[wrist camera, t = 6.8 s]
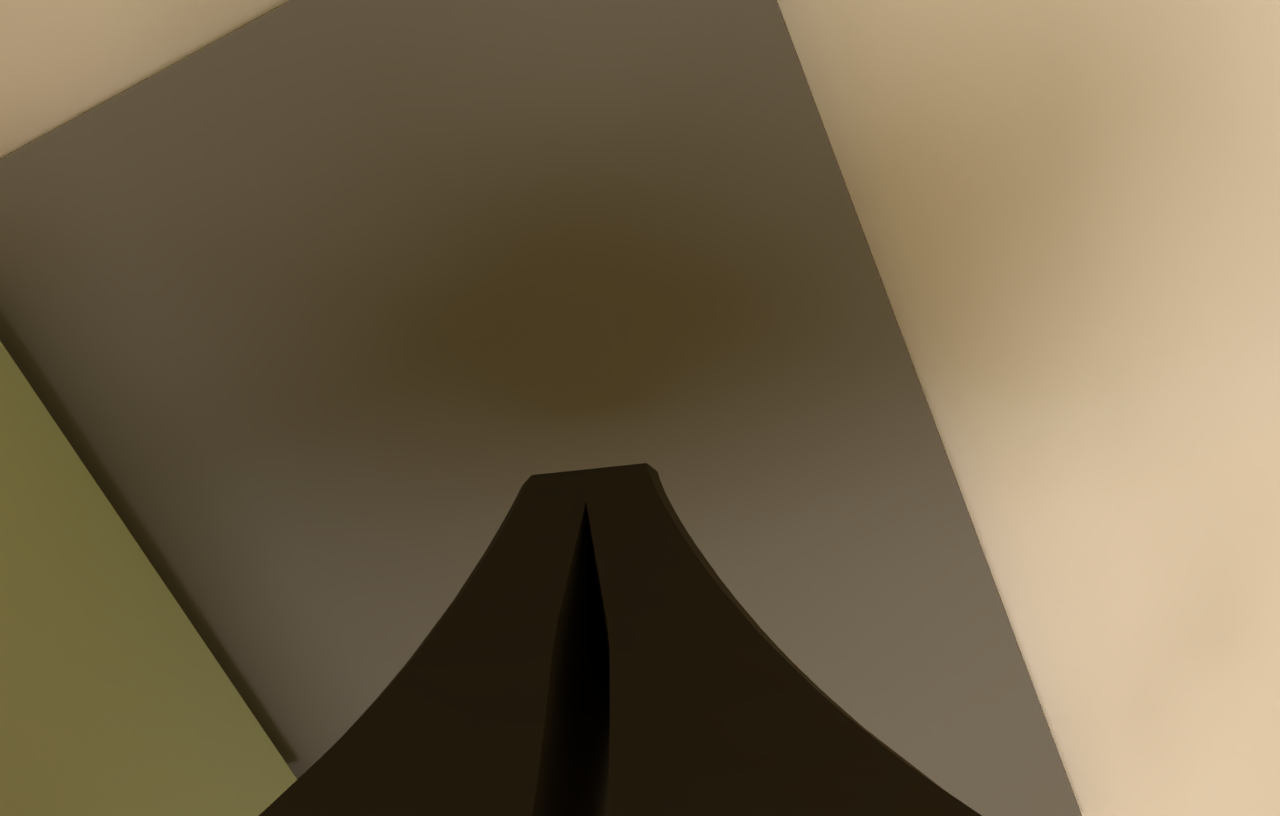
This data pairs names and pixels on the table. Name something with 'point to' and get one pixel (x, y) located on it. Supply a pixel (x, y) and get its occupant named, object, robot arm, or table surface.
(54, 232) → the mat
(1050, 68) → the table surface
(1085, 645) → the table surface
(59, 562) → the olive flat block
